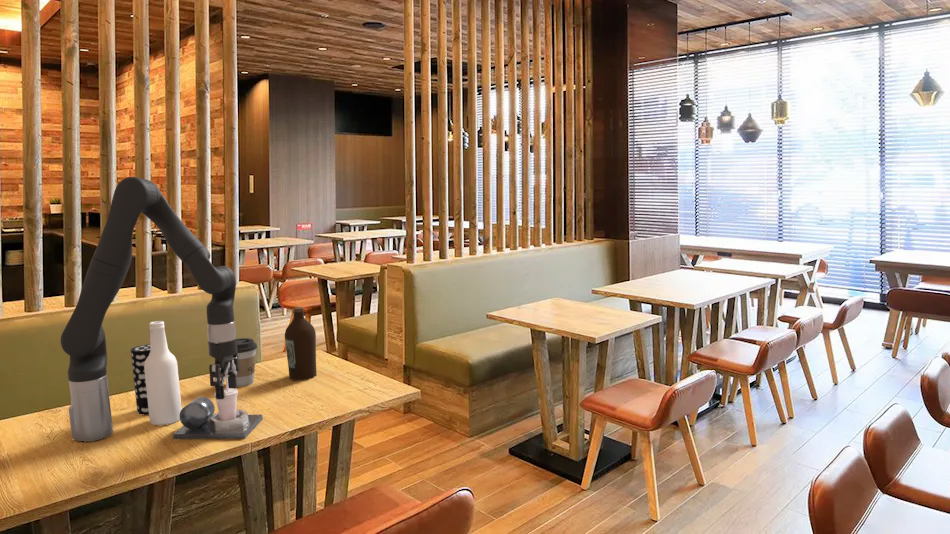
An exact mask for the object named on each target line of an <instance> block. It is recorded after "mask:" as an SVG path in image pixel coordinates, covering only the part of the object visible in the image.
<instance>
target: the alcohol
mask: <svg viewBox="0 0 950 534" xmlns="http://www.w3.org/2000/svg"><path fill="white" fill-rule="evenodd" d="M148 325H149V333H150V334H149V338H150V339H149V340H150V341H149V342H150V350H151V351H150V355H149V356H148V357H147V359H146V360H145V365H144V370H145V380H146V390H147V399H148V409H149V415H148V416H149V422H150V423H151V424H152V425H153V424H154V426H156V425H163V426H167V424H169V425H172V423H173V424H175V422H176V423H178V422H179V421H180V412H181V410H182V409H183V408H182V401H181V400H182V398H181V389H180V388H181V387H180V379H179V367H178V360H177V357H176V356H175V355H174V354H173V353H172V352H171V351H170V350H169V347H168V346H169V345H168V342H167V341H168V340H167V335H166V330H165V326H166V325H165V321H163V320H155V321H151V322H149V323H148ZM177 421H178V422H177Z"/></svg>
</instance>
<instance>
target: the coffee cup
mask: <svg viewBox="0 0 950 534" xmlns="http://www.w3.org/2000/svg"><path fill="white" fill-rule="evenodd" d="M257 348H258V344H257V342H255V341H254V339H253V338H251V337H250V338H249V337H243V338H242V337H241V338H237V350H238V351H237V353H238V362H239V371H238V372H237V375H236V384H237V387H236V388H239V387H240V388H241V387H246V386H251V385H252V384H254V381H255V370H256V369H255V368H256V355H257V354H256V352H257V351H256V350H257ZM235 366H236V365H235Z"/></svg>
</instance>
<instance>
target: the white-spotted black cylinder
mask: <svg viewBox="0 0 950 534" xmlns="http://www.w3.org/2000/svg"><path fill="white" fill-rule="evenodd" d="M150 351H151V350H150V344H143V345H137V346H135V347H132V348H131V349H130V354H131V355H130V356H131V364H132V365H131V367H132V376H133V385H134V392H135V404H136V413H137V414H138V415H140V414H142V415H141V416H148V415H147V414H149V409H148V399H147V390H146V380H145V370H144V365H145V360H146V359H147V357H148V356H149V355H150ZM143 414H144V415H143Z"/></svg>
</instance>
